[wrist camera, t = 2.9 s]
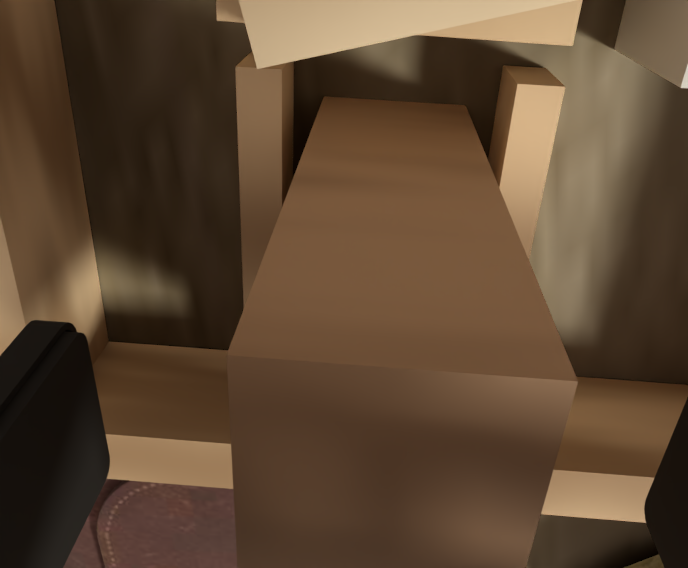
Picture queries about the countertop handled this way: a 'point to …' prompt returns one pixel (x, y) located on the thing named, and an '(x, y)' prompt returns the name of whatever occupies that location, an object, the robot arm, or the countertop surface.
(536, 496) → the brown wooden block
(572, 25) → the oak offcut
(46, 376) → the robot arm
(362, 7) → the pine offcut
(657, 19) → the grey painted offcut
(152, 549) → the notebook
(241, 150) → the oak rack
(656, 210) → the countertop surface
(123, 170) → the countertop surface
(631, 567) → the decorative tile
